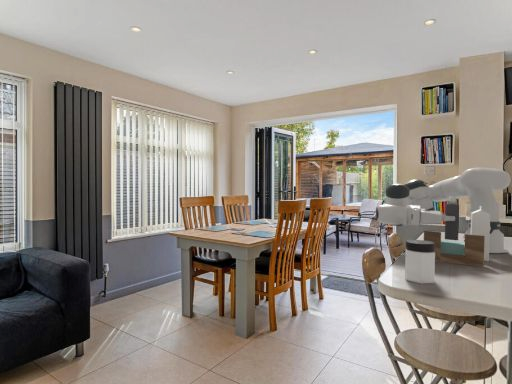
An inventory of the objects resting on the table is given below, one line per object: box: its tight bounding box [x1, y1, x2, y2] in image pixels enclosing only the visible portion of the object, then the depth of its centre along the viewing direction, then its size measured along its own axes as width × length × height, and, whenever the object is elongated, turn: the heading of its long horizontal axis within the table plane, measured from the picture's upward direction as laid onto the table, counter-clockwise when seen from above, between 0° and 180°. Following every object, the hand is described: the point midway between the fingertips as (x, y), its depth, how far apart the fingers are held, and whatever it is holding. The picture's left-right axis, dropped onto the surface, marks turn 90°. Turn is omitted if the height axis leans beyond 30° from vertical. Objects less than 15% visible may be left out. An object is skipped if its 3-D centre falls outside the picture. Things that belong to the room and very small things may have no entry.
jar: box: [404, 239, 436, 285], centre depth 100 cm, size 9×8×12 cm
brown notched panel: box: [423, 230, 485, 267], centre depth 125 cm, size 2×20×12 cm, turn 61°
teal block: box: [441, 239, 465, 256], centre depth 130 cm, size 8×8×7 cm
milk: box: [470, 206, 490, 262], centre depth 132 cm, size 6×6×22 cm
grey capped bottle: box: [444, 197, 460, 241], centre depth 128 cm, size 4×4×17 cm
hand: (454, 217), depth 128 cm, fingers closed on grey capped bottle, 4 cm apart
